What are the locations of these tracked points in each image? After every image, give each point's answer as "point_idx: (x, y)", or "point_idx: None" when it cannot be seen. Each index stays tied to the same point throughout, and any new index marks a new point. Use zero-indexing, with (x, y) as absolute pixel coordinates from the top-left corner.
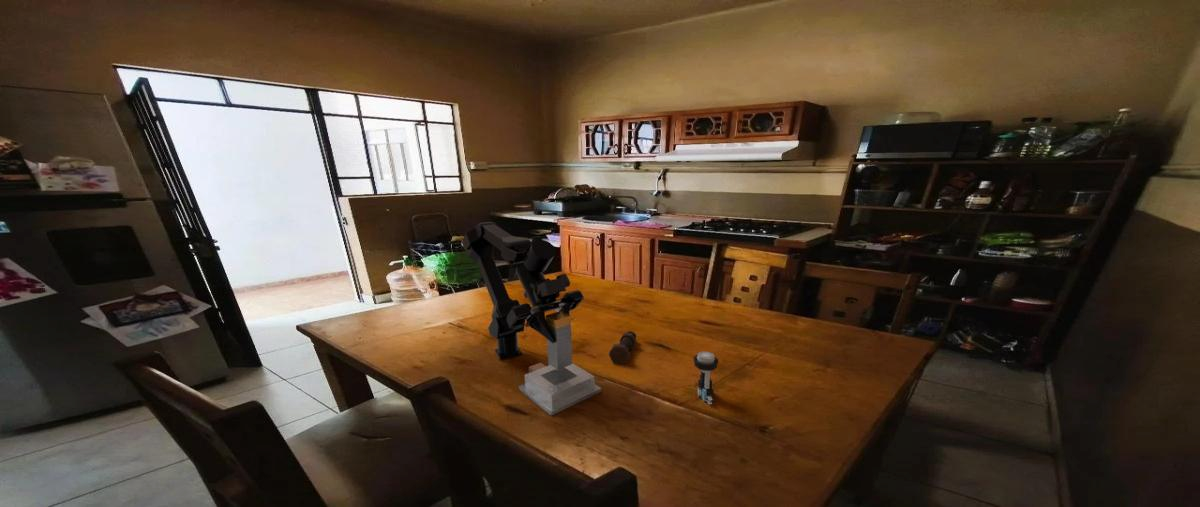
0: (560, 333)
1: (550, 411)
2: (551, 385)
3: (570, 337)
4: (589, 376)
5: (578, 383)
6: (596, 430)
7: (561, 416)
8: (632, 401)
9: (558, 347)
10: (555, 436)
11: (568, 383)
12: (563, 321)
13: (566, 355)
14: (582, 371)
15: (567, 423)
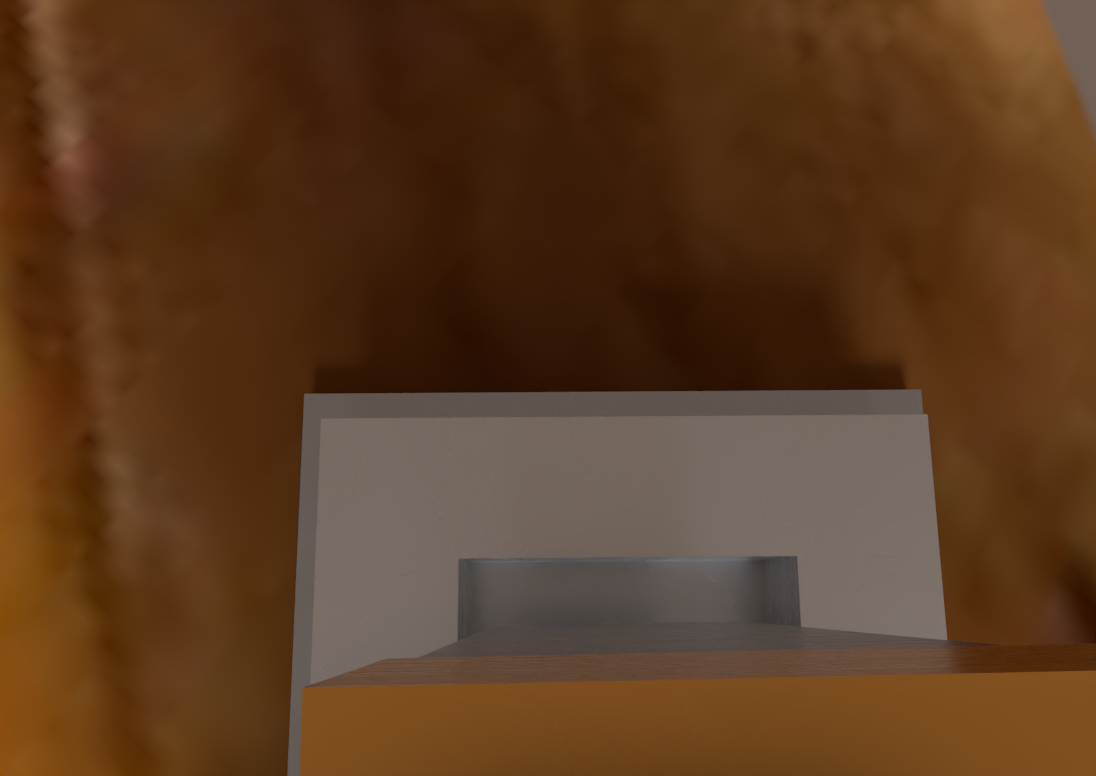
0: (826, 645)
1: (915, 405)
2: (827, 595)
3: (471, 644)
4: (363, 458)
5: (557, 419)
6: (711, 13)
7: (835, 332)
8: (224, 98)
9: (808, 630)
10: (1003, 156)
11: (646, 497)
12: (788, 663)
13: (594, 629)
14: (349, 613)
15: (844, 222)
